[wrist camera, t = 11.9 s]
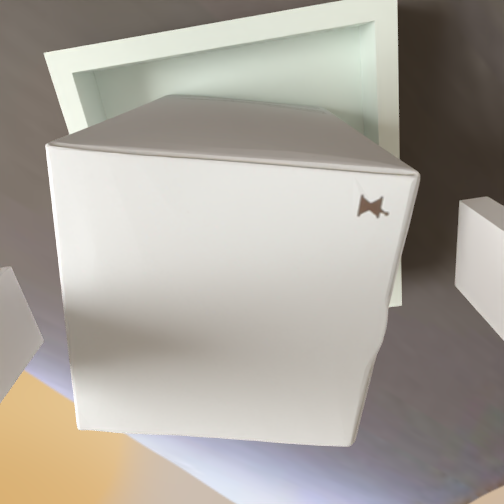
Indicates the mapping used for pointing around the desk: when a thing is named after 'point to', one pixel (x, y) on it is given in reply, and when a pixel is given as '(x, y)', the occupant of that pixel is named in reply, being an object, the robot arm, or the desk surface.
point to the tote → (250, 69)
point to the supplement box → (226, 268)
